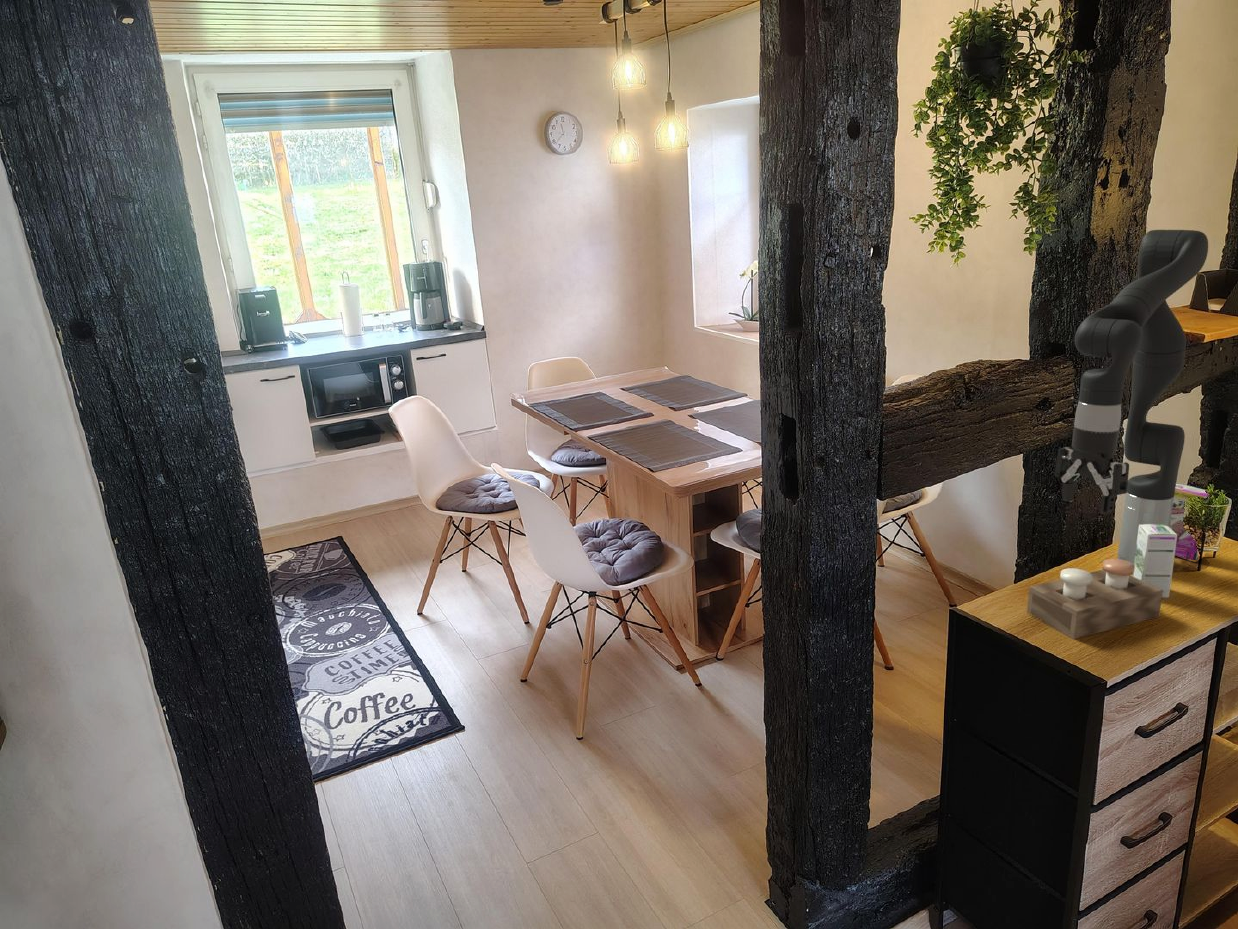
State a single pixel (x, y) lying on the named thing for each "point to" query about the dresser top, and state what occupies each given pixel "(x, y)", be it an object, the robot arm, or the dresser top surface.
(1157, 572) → the syrup box
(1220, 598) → the dresser top surface
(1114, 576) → the terracotta knob
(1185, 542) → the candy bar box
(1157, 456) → the robot arm
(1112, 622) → the brown wooden block
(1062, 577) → the cream knob
